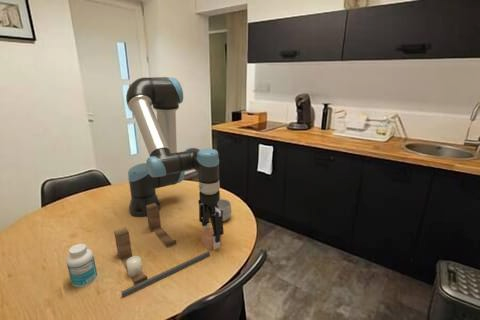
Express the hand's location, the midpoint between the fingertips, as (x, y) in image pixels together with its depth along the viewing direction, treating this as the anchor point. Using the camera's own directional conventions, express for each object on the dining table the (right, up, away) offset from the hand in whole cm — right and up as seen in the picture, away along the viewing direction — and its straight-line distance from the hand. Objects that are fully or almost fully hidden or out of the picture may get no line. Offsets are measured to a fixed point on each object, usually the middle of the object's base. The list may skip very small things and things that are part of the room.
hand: (211, 243), depth 104 cm
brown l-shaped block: (-22, +1, +7) cm, 23 cm away
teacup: (+2, +5, +23) cm, 23 cm away
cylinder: (-24, -5, -15) cm, 29 cm away
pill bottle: (-40, -8, -17) cm, 44 cm away
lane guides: (-19, -4, -7) cm, 21 cm away
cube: (0, -1, 0) cm, 1 cm away
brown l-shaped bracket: (-27, -5, -12) cm, 30 cm away
